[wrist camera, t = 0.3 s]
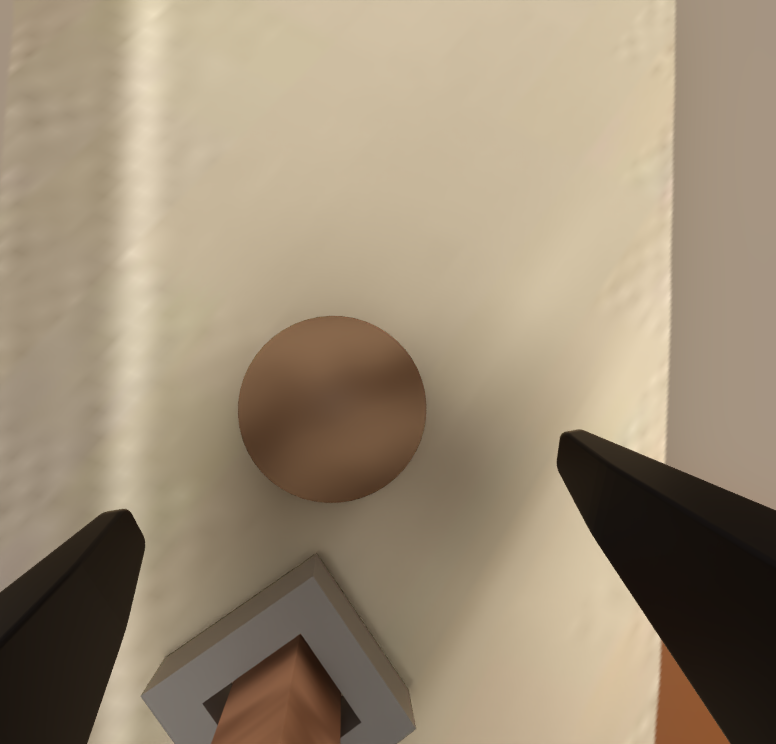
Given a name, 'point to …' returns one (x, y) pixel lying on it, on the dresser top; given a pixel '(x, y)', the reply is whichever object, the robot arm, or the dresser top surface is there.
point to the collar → (265, 636)
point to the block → (282, 701)
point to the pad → (332, 409)
